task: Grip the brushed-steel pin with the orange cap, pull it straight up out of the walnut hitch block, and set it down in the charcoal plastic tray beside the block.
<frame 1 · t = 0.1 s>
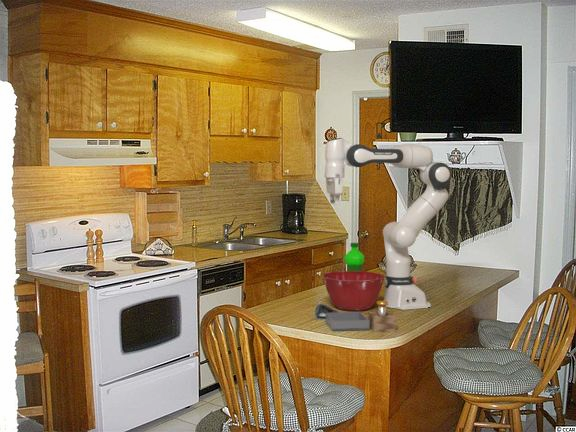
hand: (334, 204, 289), 48 cm above the table, fingers open, 8 cm apart
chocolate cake: (327, 318, 273), on the table
mixing bowl: (353, 308, 291), on the table
hitch block: (381, 328, 254), on the table
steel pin: (381, 326, 254), point 1 cm above the table, touching hitch block
plastic bottle: (354, 290, 333), on the table
tray: (346, 326, 258), on the table
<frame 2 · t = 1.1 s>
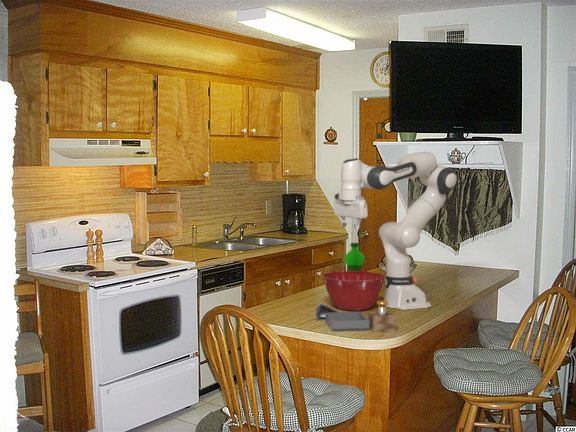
hand: (350, 227, 275), 38 cm above the table, fingers open, 8 cm apart
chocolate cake: (328, 319, 271), on the table
everything else where it was.
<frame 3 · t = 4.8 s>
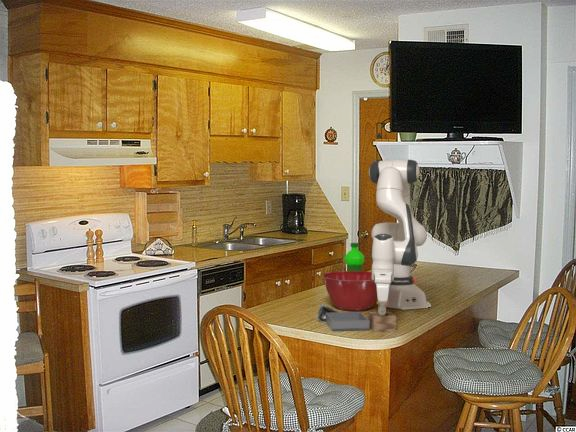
hand: (382, 309, 253), 8 cm above the table, fingers closed on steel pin, 3 cm apart
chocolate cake: (330, 320, 269), on the table
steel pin: (381, 326, 254), point 1 cm above the table, touching gripper, hitch block
everything else where it was.
when the fingers open (10 cm above the table, at t = 12.1 s): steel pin moves 6 cm and tips over, resting on tray.
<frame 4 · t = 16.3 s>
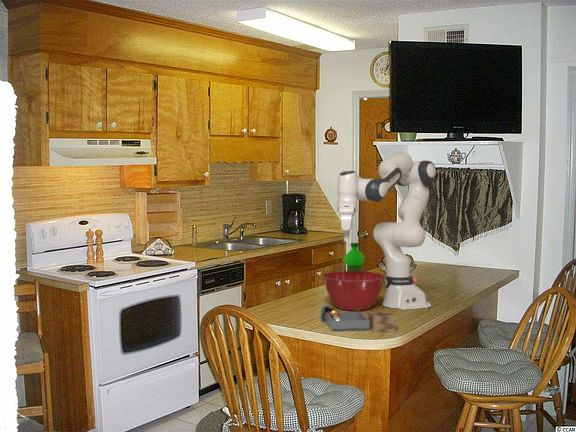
hand: (346, 239, 276), 33 cm above the table, fingers open, 8 cm apart
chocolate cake: (332, 320, 269), on the table
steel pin: (338, 322, 253), point 2 cm above the table, tilted 86°, touching tray
everything else where it was.
at the end: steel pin inside the target area on the tray (5.8 cm from its centre), point 2.5 cm above the tray's base; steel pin moved 17.6 cm from its start; the gripper is holding nothing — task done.
